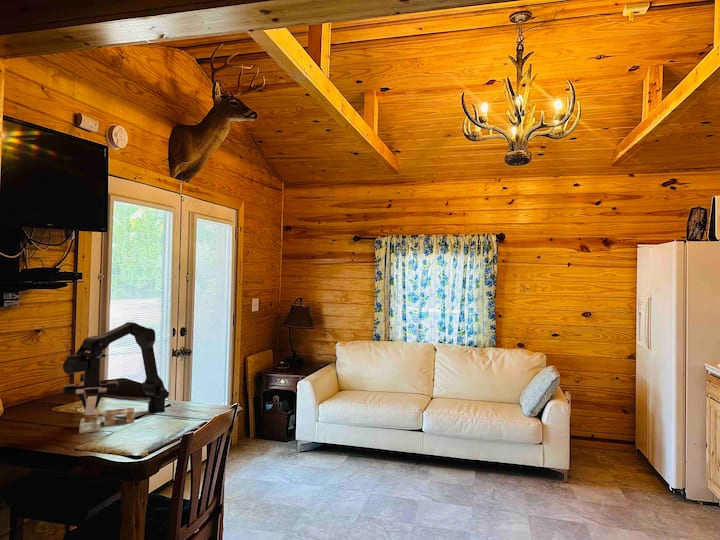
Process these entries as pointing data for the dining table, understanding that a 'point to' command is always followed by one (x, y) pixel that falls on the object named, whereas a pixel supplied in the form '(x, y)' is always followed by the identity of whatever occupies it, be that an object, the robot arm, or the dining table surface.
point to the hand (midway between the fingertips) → (90, 409)
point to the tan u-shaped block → (111, 414)
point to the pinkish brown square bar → (91, 405)
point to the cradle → (89, 426)
